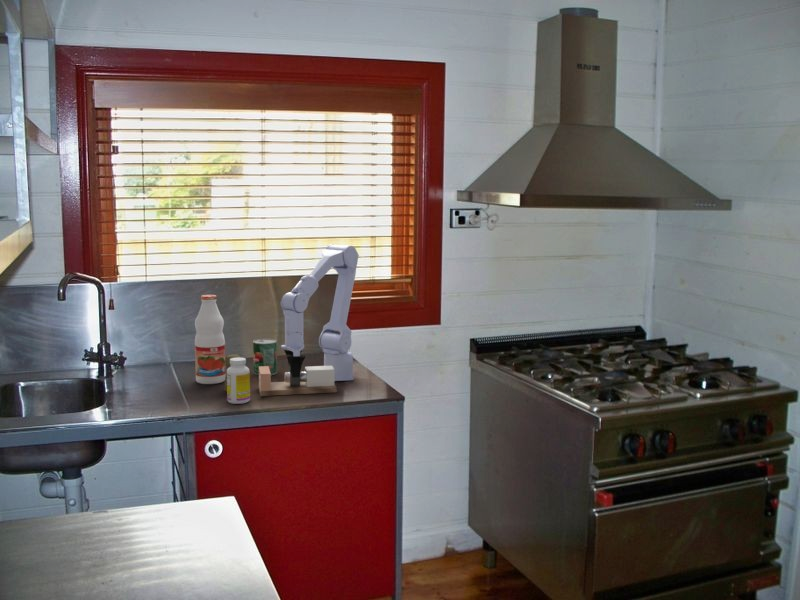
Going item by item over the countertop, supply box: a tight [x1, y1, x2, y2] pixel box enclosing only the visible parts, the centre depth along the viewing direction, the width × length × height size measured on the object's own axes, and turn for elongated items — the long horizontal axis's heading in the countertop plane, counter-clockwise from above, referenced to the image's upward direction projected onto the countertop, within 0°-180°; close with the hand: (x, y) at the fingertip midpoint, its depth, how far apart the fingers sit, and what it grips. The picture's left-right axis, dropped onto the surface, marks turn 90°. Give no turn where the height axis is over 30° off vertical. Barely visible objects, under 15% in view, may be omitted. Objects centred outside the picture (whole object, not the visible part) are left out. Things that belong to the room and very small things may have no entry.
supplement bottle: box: [226, 357, 251, 405], centre depth 243 cm, size 7×7×13 cm
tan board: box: [257, 381, 338, 397], centre depth 258 cm, size 23×10×2 cm, turn 103°
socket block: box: [258, 366, 272, 391], centre depth 255 cm, size 3×10×5 cm, turn 13°
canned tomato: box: [252, 338, 278, 376], centre depth 278 cm, size 8×8×11 cm
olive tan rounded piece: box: [223, 353, 242, 392], centre depth 257 cm, size 6×6×11 cm
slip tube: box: [283, 363, 307, 386], centre depth 258 cm, size 14×4×6 cm, turn 103°
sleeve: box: [304, 365, 335, 387], centre depth 259 cm, size 9×5×5 cm, turn 103°
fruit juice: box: [194, 294, 226, 385], centre depth 265 cm, size 9×9×28 cm
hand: (294, 374), depth 257 cm, fingers open, 7 cm apart
